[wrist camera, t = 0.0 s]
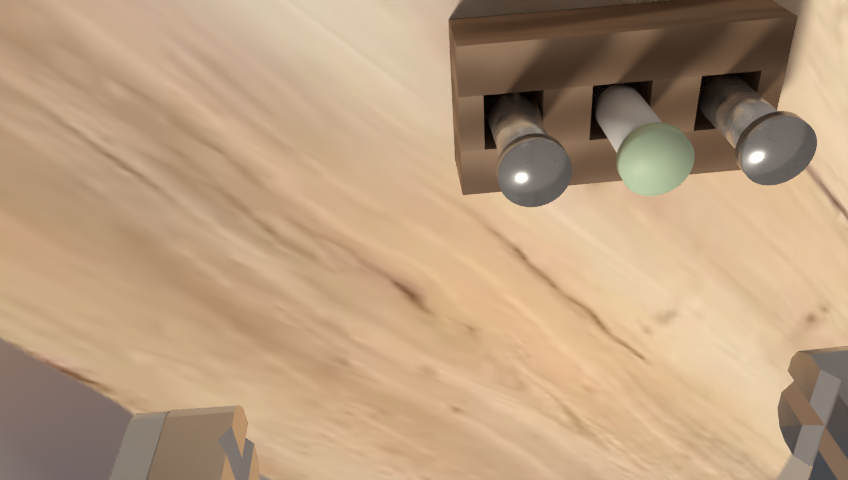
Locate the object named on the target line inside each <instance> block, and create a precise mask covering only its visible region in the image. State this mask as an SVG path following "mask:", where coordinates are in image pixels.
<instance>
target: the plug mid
mask: <svg viewBox="0 0 848 480" xmlns="http://www.w3.org/2000/svg"><path fill="white" fill-rule="evenodd" d="M594 116H595V118H596V120H597V122H598V123H599V125H600V127H601V128H602V130H603V131H604V133H605V135H606V136H607V138H608V139H609V141H610V143H611V144H612V146H613V148H614V149H615V151H616V152H617V155H616V168H617V171H618V173H619V175H620V177H621V178H622V180H623V182H624V183H625V185H626V186H627V187H628V188H629V189H630V190H631V191H633V192H635V193H637V194H639V195H644V196H656V195H661V194H664V193H667V192H669V191H671V190H673V189H675V188H676V187H678V186H679V185H680V184H681V183H682V182H683V181H684V180H685V179H686V178H687V177H688V175H689V174H690V172H691V170H692V167H693V164H694V158H695V154H694V148H693V146H692V144H691V142H690V141H689V140H688V138H687V137H686V136H685V135H684V134H683V132H682V131H681V130H680V129H679V128H677V127H676V126H674V125H672V124H669V123H663V122H662V121H661V120H660V119H659V118H658V116H657V115H656V114H655V113H654V111H653V110H652V109H651V108H650V106H649V105H648V104H647V102H646V101H645V100H644V99H643V97H642V96H641V95H640V94H639V92H638V91H637V90H636V89H635V88H634V87H632V86H630V85H627V84H616V85H613V86H610V87H608V88H607V89H605V90H604V91H603V92H602V93H601V94H600V95H599V96H598V98H597V99H596V101H595V104H594Z"/></svg>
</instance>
